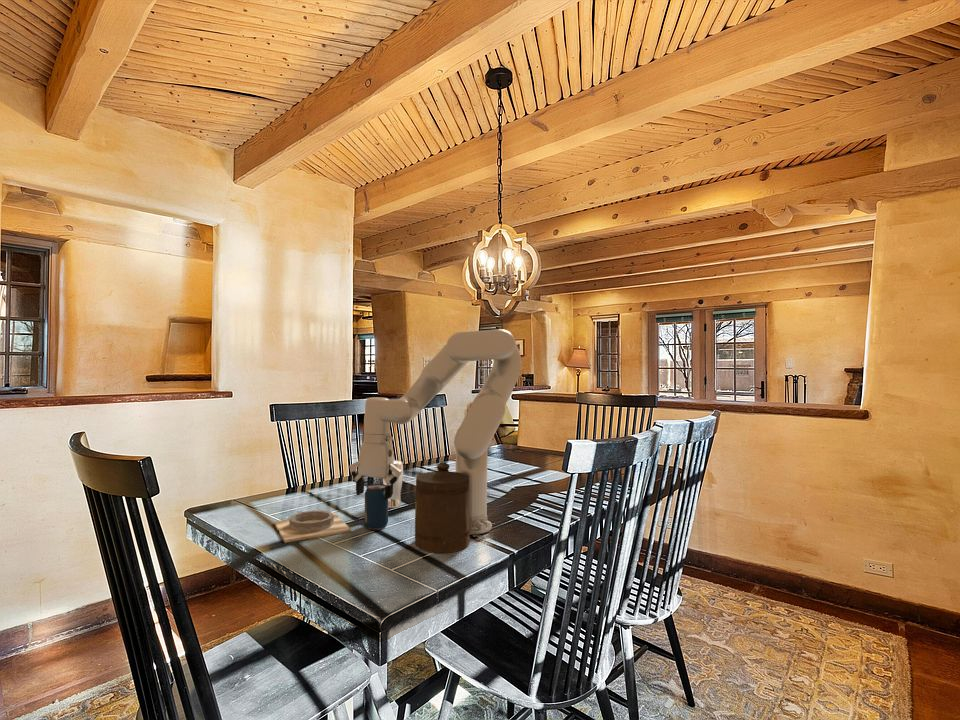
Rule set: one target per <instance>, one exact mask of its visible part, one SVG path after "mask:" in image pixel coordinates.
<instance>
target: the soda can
mask: <svg viewBox="0 0 960 720" xmlns="http://www.w3.org/2000/svg"><path fill="white" fill-rule="evenodd" d="M385 486H386V485H383V483H376V484H375V483H374V484H370V485H367V486H366V489H365V490H364V525H365V527H366V528H367V529H368V530H381V529H385V528H386V526H387V525H388V522H389V508H388V499H385Z"/></svg>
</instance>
